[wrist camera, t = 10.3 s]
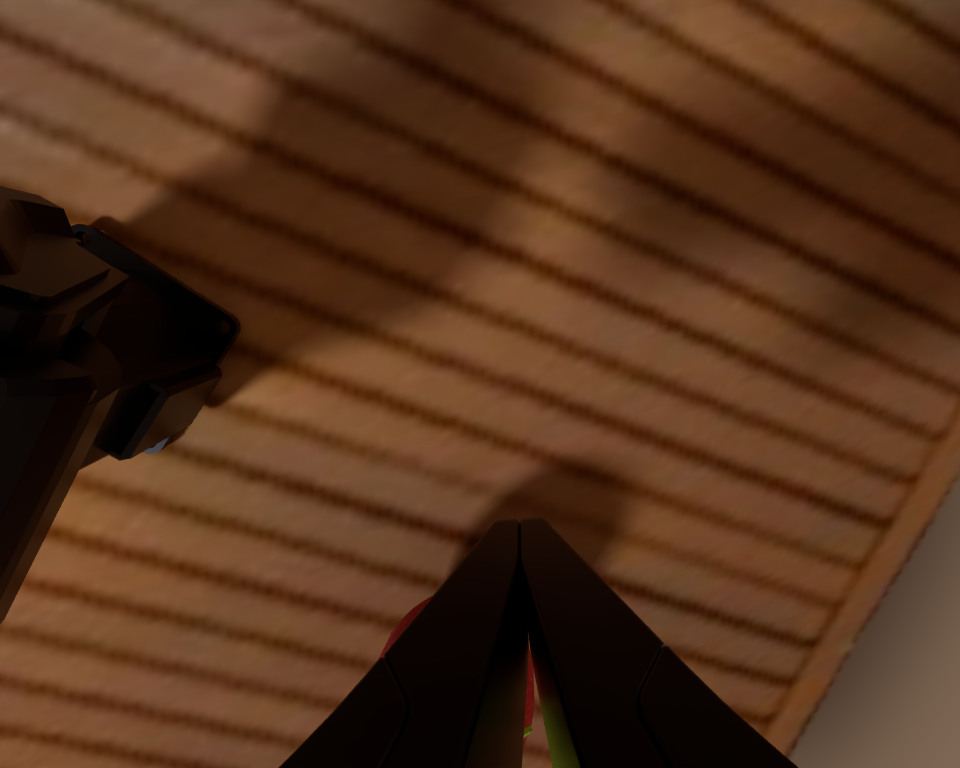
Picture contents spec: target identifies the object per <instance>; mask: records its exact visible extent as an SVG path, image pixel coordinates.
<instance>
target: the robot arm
mask: <svg viewBox="0 0 960 768" xmlns="http://www.w3.org/2000/svg"><path fill="white" fill-rule="evenodd" d="M85 233H87V234H88V235H89V238H90V241H89V243H88V244H87V245H85V244H84V243H83V240H82V237H83V235H84V234H85ZM223 320H224V321H227V322H228V323H229V326H230V330H229V331H228V332H227V333H226V332H224V331H223V330H222V329H221V326H220V325H221V322H222V321H223ZM240 329H241V326H240V322H239V320H238V319H237V318H236V317H235V316H234V315H232V314H231V313H229V312H228V311H226V310H224V309H223V308H221V307H220V306H218V305H217V304H215V303H213V302H212V301H210V300H209V299H207V298H206V297H204V296H202V295H201V294H199V293H198V292H196V291H195V290H193V289H191V288H190V287H188V286H187V285H185V284H184V283H182V282H180V281H179V280H177V279H176V278H174V277H173V276H171V275H169V274H168V273H166V272H165V271H163V270H162V269H160V268H158V267H157V266H155V265H154V264H152V263H151V262H149V261H147V260H146V259H144V258H143V257H141V256H140V255H138V254H136V253H135V252H133V251H132V250H130V249H129V248H127V247H125V246H124V245H122V244H121V243H119V242H118V241H116V240H114V239H113V238H111V237H110V236H108V235H107V234H105V233H103V232H102V231H100V230H99V229H97V228H95V227H93V226H89V225H84V224H76V225H73V226H71V225H70V223H69V221H68V218H67V216H66V214H65V211H64V209H63V208H61V207H59V206H57V205H55V204H53V203H52V202H50V201H48V200H46V199H44V198H42V197H41V196H39V195H35V194H31V193H27V192H23V191H19V190H14V189H10V188H6V187H2V186H0V624H1V623H2V621H3V620H4V619H5V617H6V615H7V613H8V611H9V609H10V607H11V605H12V603H13V601H14V599H15V597H16V595H17V593H18V591H19V589H20V587H21V585H22V583H23V581H24V579H25V577H26V575H27V573H28V571H29V569H30V567H31V565H32V563H33V561H34V559H35V557H36V555H37V553H38V551H39V549H40V547H41V545H42V543H43V541H44V539H45V537H46V535H47V533H48V531H49V529H50V527H51V525H52V523H53V521H54V519H55V517H56V515H57V513H58V511H59V509H60V507H61V505H62V503H63V501H64V499H65V497H66V495H67V493H68V491H69V489H70V487H71V485H72V483H73V481H74V479H75V477H76V475H77V473H78V471H79V470H80V469H82V468H84V467H86V466H88V465H90V464H92V463H94V462H96V461H98V460H100V459H102V458H104V457H106V456H108V455H110V456H112V457H114V458H115V459H117V460H119V461H120V460H125V459H130V458H133V457H134V456H136V455H138V454H140V453H141V452H146V453H149V454H154V453H157V452H159V451H161V450H162V449H164V448H165V447H166V446H167V445H168V444H169V442H170V440H171V439H172V437H173V436H174V434H175V433H177V432H179V431H181V430H182V429H184V428H186V427H188V426H190V425H191V424H192V422H193V421H194V419H195V417H196V416H197V414H198V413H199V411H200V410H201V408H202V407H203V405H204V403H205V402H206V400H207V399H208V397H209V396H210V394H211V393H212V391H213V389H214V388H215V386H216V385H217V383H218V382H219V380H220V379H221V377H222V372H221V368H219V367H218V366H219V364H220V362H221V361H222V359H223V358H224V356H225V355H226V353H227V351H228V350H229V348H230V347H231V345H232V344H233V342H234V341H235V339H236V337H237V336H238V334H239V332H240ZM528 633H529V637H528ZM529 642H530V651H531V657H532V663H533V668H534V673H535V678H536V684H537V689H538V694H539V699H540V704H541V709H542V714H543V719H544V725H545V730H546V735H547V740H548V745H549V750H550V755H551V760H552V765H553V768H798V767H797V766H796V765H795V764H794V763H793V762H791V761H790V760H789V759H788V758H787V757H786V756H784V755H783V754H782V753H781V752H780V751H779V750H777V749H776V748H775V747H774V746H773V745H772V744H771V743H769V742H768V741H767V740H766V739H765V738H764V737H763V736H761V735H760V734H759V733H758V732H757V731H756V730H755V729H754V728H753V727H751V726H750V725H749V724H748V723H747V722H746V721H745V720H744V719H742V718H741V717H740V716H739V715H738V714H737V713H736V712H735V711H733V710H732V709H731V708H730V707H729V706H728V705H727V704H726V703H724V702H723V701H722V700H721V699H720V698H719V697H718V696H717V695H716V694H715V693H714V692H713V691H712V690H711V689H710V688H709V687H708V686H707V685H706V684H705V683H704V682H703V681H702V680H701V679H700V678H699V677H698V676H697V675H696V674H695V673H694V672H693V671H692V670H691V669H690V668H689V667H688V666H687V665H686V664H685V663H684V662H683V661H682V660H681V659H680V658H679V657H678V656H677V655H676V654H675V653H674V652H673V651H672V650H671V649H670V648H669V647H668V646H664V643H663V642H662V641H661V640H660V639H659V637H658V636H657V635H656V634H655V633H654V632H653V631H652V630H651V629H650V628H649V627H648V626H647V625H646V624H645V623H644V622H643V621H642V620H641V619H640V618H639V617H638V616H637V615H636V614H635V613H634V612H633V611H632V609H631V608H630V607H629V606H628V605H627V604H626V603H625V602H624V601H623V600H622V599H621V598H620V597H619V596H618V595H617V594H616V593H615V592H614V591H613V590H612V589H611V588H610V587H609V586H608V585H607V584H606V583H605V582H604V580H603V579H602V578H601V577H600V576H599V575H598V574H597V573H596V572H595V571H594V570H593V569H592V568H591V567H590V566H589V565H588V564H587V563H586V562H585V561H584V560H583V559H582V558H581V557H580V556H579V555H578V554H577V552H576V551H575V550H574V549H573V548H572V547H571V546H570V545H569V544H568V543H567V542H566V541H565V540H564V539H563V538H562V537H561V536H560V535H559V534H558V533H557V532H556V531H555V530H554V529H553V528H552V527H551V526H550V525H549V523H548V522H547V521H546V520H545V519H543V518H529V519H522V520H521V521H520V524H519V522H518V521H517V520H515V519H514V520H499V521H496V522H495V523H493V525H492V526H491V527H490V528H489V529H488V531H487V532H486V533H485V534H484V535H483V537H482V538H481V539H480V540H479V541H478V543H477V544H476V545H475V546H474V547H473V549H472V550H471V551H470V552H469V553H468V554H467V556H466V557H465V558H464V559H463V560H462V562H461V563H460V564H459V565H458V566H457V568H456V569H455V570H454V571H453V572H452V574H451V575H450V576H449V577H448V578H447V580H446V581H445V582H444V583H443V584H442V586H441V587H440V588H439V589H438V590H437V591H436V593H435V594H434V595H433V596H432V597H431V599H430V600H429V601H428V602H427V603H426V605H425V606H424V607H423V608H422V609H421V611H420V612H419V613H418V614H417V615H416V617H415V618H414V619H413V620H412V621H411V623H410V624H409V625H408V626H407V627H406V628H405V630H404V631H403V632H402V633H401V634H400V636H399V637H398V638H397V639H396V640H395V642H394V643H393V644H392V645H391V646H390V648H389V649H388V650H387V651H386V652H385V654H384V658H383V657H381V658H379V659H378V661H377V662H376V663H375V664H374V665H373V666H372V668H371V669H370V670H369V671H368V672H367V674H366V675H365V676H364V677H363V678H362V680H361V681H360V682H359V683H358V684H357V685H356V686H355V687H354V689H353V690H352V691H351V692H350V693H349V694H348V695H347V696H346V698H345V699H344V700H343V701H342V702H341V703H340V704H339V705H338V707H337V708H336V709H335V710H334V711H333V712H332V713H331V714H330V715H329V717H328V718H327V719H326V720H325V721H324V722H323V723H322V724H321V725H320V726H319V727H318V728H317V729H316V730H315V731H314V732H313V733H312V734H311V735H310V736H309V737H308V738H307V739H306V740H305V741H304V742H303V743H302V744H301V745H300V746H299V748H298V749H297V750H296V751H295V752H294V753H293V754H292V755H291V756H290V757H289V758H288V759H287V760H286V761H285V762H284V763H283V764H282V765H281V766H280V767H279V768H522V754H523V738H524V723H525V708H526V693H527V677H528V660H529Z"/></svg>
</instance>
